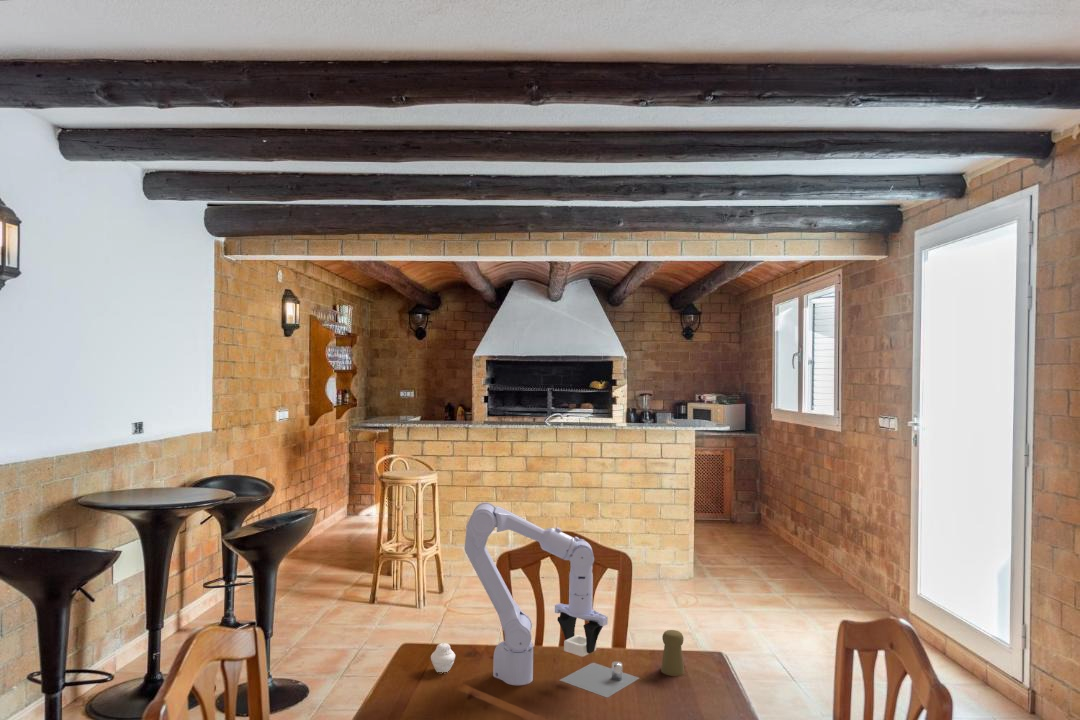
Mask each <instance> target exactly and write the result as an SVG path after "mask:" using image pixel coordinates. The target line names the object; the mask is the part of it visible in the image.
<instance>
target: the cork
mask: <svg viewBox="0 0 1080 720" xmlns="http://www.w3.org/2000/svg"><path fill="white" fill-rule="evenodd" d="M684 640H685V639H684V635H683V634H682V632H681V631H679V630H677V629H676V630H675V629H669V630H668V629H667V630H665V631H664V632H663V634H662V642H663V644H664V645H663V647H664V648H663V652H662V653H663V655H662V659H661V660H662V661H661V668H660V671H661V673H662V674H664V675H667V676H671V677H681V676H683V675H684V674H685V666H684V657H683V650H682V646H683V643H684Z"/></svg>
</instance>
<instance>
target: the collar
mask: <svg viewBox="0 0 1080 720" xmlns="http://www.w3.org/2000/svg"><path fill="white" fill-rule="evenodd" d="M563 651H564V652H567V653H570V654H573V655H576V656H579V657H581V658H583V657H586V656H587V655H590V653H587V649H586V635H581V634H576V635H574V636H573V637H571V638H569V639H567V640H565V639H564V641H563ZM595 651H597V644H596V645H595V649H594V652H595Z"/></svg>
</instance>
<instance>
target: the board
mask: <svg viewBox="0 0 1080 720" xmlns="http://www.w3.org/2000/svg"><path fill="white" fill-rule="evenodd" d="M639 679H640V677H638V676H636V675H635V676H634V675H632V674H629V673H627V672H623V671H622V680H621V681H615V680H612V667H608V666H605V665H602V664H600V663H599V664H598V663H596V662H591V663H589V664H587V665H585V666H583V667H582V668H579V669H578V670H576V671H574V672H572V673H570V674H568V675H566V676H565V677H562V678H561V679H559V681H560V682H563V683H566V684H567V685H571V686H574V687H576V688H579V689H581V690H585V691H587V692H590V693H593V694H596V695H599V696H601V697H604V698H610V697H611V696H612V695H615V694H616V693H618V692H620V691H621V690H622V689H624V688H626V687H629V685H631V684H633V683H634V682H636V681H638V680H639Z"/></svg>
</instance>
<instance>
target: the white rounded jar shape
mask: <svg viewBox="0 0 1080 720" xmlns="http://www.w3.org/2000/svg"><path fill="white" fill-rule="evenodd" d="M430 660H431V663H432V665H433V668H434V669H435V672H436V673H438V672H442V673H443V672H447V673H449V672H450V671H449V670H451V668H452V666H453V665H454V663H455V660H456V654H455V652H454V651H453V650H452V649H451V645H450V644H449V643H448V642H447V643H446V642H442V643H438V644H437V646H436V649H435V650H434V651H433V652H432V653H431V655H430ZM448 671H449V672H448ZM442 673H441V674H442Z"/></svg>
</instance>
